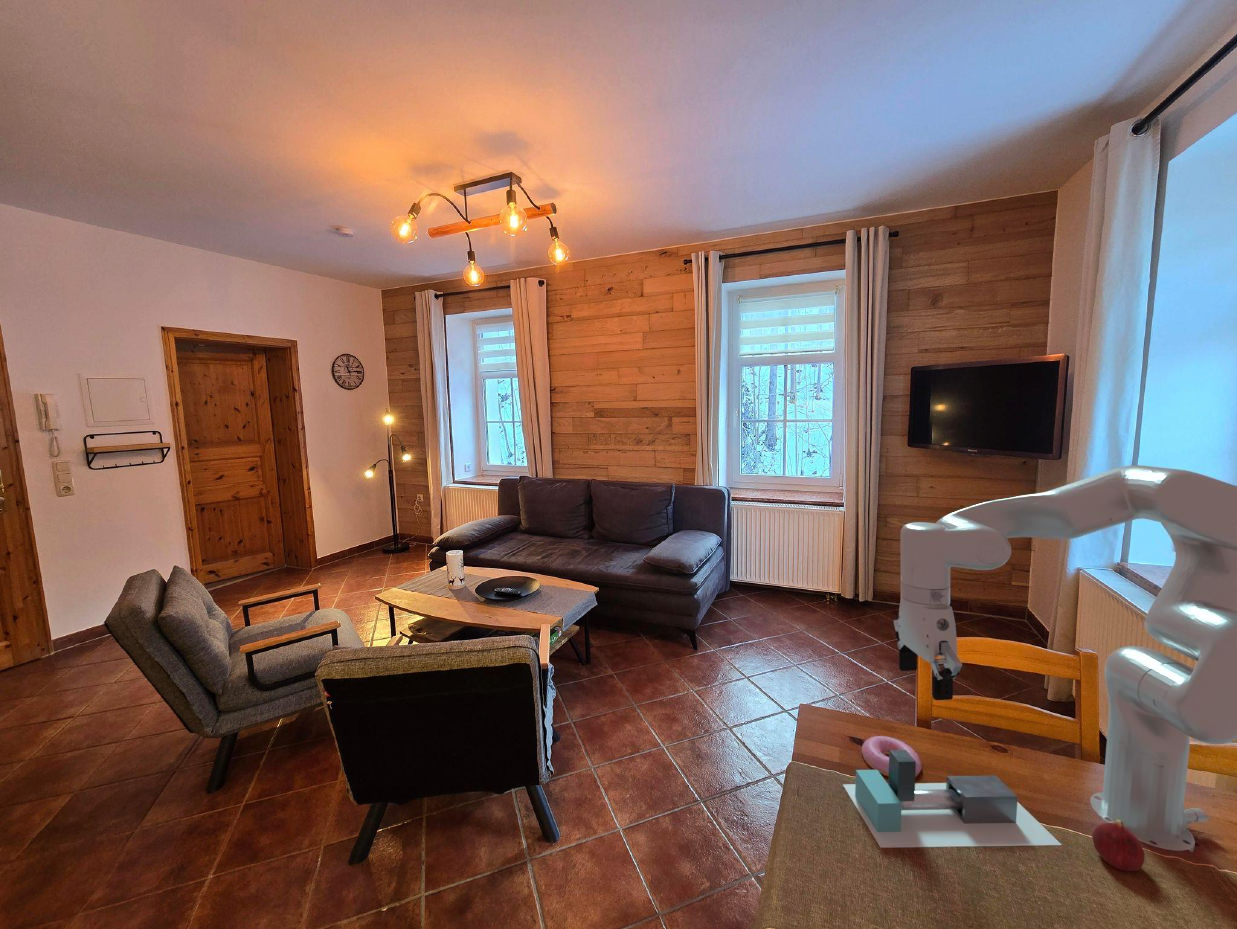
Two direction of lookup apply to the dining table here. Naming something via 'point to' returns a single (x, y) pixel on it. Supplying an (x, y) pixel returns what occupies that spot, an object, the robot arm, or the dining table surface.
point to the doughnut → (879, 747)
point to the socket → (878, 801)
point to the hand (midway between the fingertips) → (924, 683)
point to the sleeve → (984, 799)
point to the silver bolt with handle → (904, 786)
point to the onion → (1118, 846)
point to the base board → (956, 828)
